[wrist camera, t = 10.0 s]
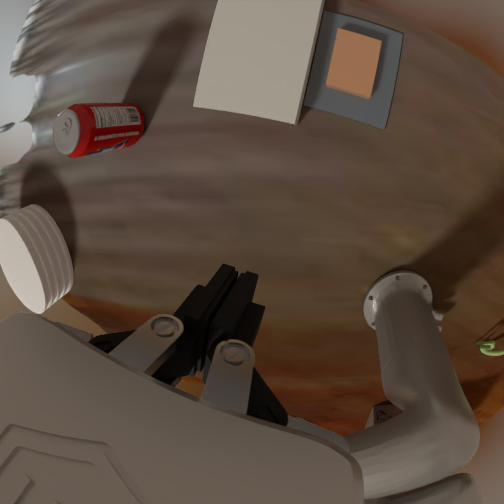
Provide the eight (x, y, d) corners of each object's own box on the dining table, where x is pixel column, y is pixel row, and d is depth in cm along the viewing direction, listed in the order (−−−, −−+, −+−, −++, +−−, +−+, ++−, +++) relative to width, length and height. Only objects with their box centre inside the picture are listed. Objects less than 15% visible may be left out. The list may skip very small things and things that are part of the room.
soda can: (155, 116, 39) (89, 119, 26) (134, 154, 43) (70, 171, 30) (126, 96, 38) (60, 95, 25) (108, 132, 42) (45, 143, 29)
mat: (402, 34, 24) (402, 34, 24) (384, 130, 32) (384, 129, 31) (324, 11, 26) (324, 10, 26) (303, 105, 33) (303, 105, 33)
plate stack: (85, 301, 64) (58, 324, 54) (37, 285, 71) (15, 302, 61) (57, 201, 53) (21, 217, 43) (14, 206, 60) (-13, 219, 49)
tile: (337, 28, 25) (337, 32, 27) (325, 84, 29) (325, 86, 31) (381, 41, 24) (379, 45, 26) (370, 97, 29) (368, 99, 30)
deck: (325, -4, 25) (325, -16, 21) (297, 125, 35) (294, 124, 31) (234, -12, 27) (225, -23, 23) (204, 108, 37) (193, 106, 33)
